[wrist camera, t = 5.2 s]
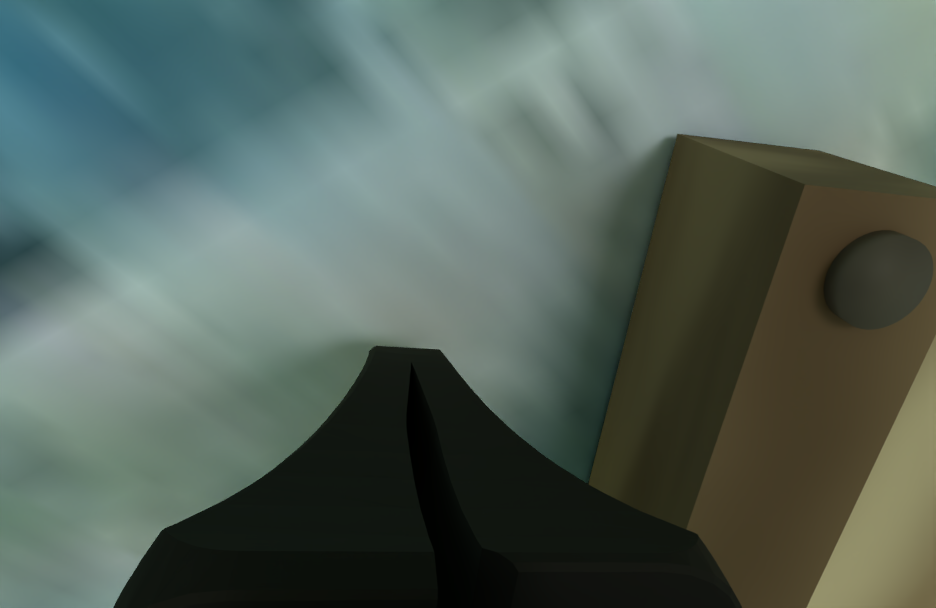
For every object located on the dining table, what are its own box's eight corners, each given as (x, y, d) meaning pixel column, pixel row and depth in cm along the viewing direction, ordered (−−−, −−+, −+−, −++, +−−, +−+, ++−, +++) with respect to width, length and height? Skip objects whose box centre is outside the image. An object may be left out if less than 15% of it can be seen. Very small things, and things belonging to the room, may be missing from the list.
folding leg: (818, 150, 12) (1016, 211, 9) (685, 536, 16) (778, 697, 13) (677, 134, 12) (819, 190, 8) (574, 535, 16) (637, 703, 12)
